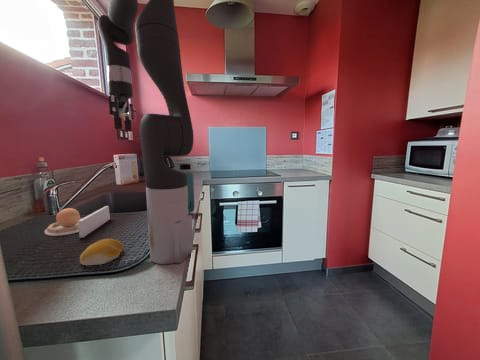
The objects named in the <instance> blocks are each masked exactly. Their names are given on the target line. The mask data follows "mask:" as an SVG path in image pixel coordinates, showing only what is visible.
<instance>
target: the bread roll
mask: <svg viewBox="0 0 480 360" xmlns="http://www.w3.org/2000/svg"><path fill="white" fill-rule="evenodd" d="M122 250H123V251H124V245H123V244H122V243H121V242H120V240H117V239H114V238H103V239H100V240H97V241H95V242H94V243H92V244H89V245H88V246H87V248H86V249H85V250H84V251H83V252H82V253H80V256H79V262H80V264H81V265H82V266H84V265H86V266H85V267H88V266H87V265H95V264H101V263H106V262H108V261H111V260H113V259H115V258H119V257H120V254H121V253H122V252H123V251H122ZM120 252H121V253H120ZM115 260H116V259H115Z"/></svg>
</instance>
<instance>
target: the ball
mask: <svg viewBox="0 0 480 360" xmlns="http://www.w3.org/2000/svg"><path fill="white" fill-rule="evenodd" d="M80 218H81V214H80V212H79V211H78V210H77V209H76V208H72V207H67V208H64V209H62V210H60V211H58V212H57V214H56V217H55V220H56V222H57V223H58V224H59V225H60V226H63V227H71V226H74V225H75V224H77V223H78V221H79V220H80Z"/></svg>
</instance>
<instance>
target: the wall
mask: <svg viewBox="0 0 480 360" xmlns="http://www.w3.org/2000/svg"><path fill="white" fill-rule="evenodd" d="M110 215H111V214H110V206H109V205H105V206H103V207H102V208H100V209H97V210H95V211H93V212H92V213H90V214H88V215H87V216H85V217H82V218H83V219H81V220H79V221H78V228H79V232H78V236H79V238H85V237H86V236H87V235H89V234H90V233H92V232H93V231H95V230H97V229H98V228H99V227H101V226H102V225H104V224H105V223H107V222H108V221H109V220H110V219H111V217H110Z"/></svg>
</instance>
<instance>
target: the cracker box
mask: <svg viewBox="0 0 480 360" xmlns="http://www.w3.org/2000/svg"><path fill="white" fill-rule="evenodd" d="M114 163H116V165H117V168H115V167H114V174H115V182H116V183H115V184H116V185H117V186H124V185H130V184H137V183H139V182H140V179H139V170H138V169H139V168H138V155H137V153H126V154H125V153H122V154H120V153H119V154H113V164H114Z"/></svg>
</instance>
